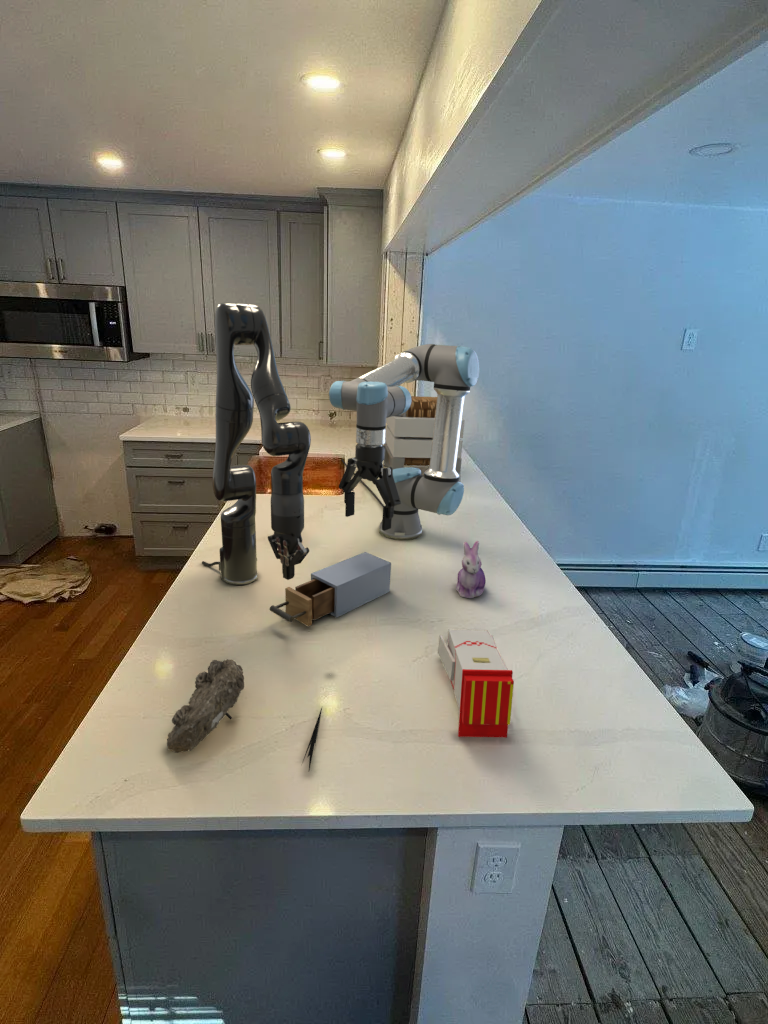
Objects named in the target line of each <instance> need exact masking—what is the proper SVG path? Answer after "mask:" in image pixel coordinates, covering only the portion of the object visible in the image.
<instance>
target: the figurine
mask: <svg viewBox="0 0 768 1024" xmlns="http://www.w3.org/2000/svg"><path fill="white" fill-rule="evenodd" d="M479 548H480V541H479V540H476V541H475V542H474V543H473V546H472V547H470V545H469V543H468V542H467V541H464V542H463V552H464V553H463V555H464V556H463V558H462V559H461V567H462V568H461V569H460V570H459V571H458V573H457V577H456V578H457V580H456V581H457V582H456V586H455V589H456V592H457V593H458V595H459V596H460V597H462V598H468V599H473V598H477V597H480V596H481V595H482V594H483V593H484V590H485V587H486V581H487V580H486V579H487V578H486V575H485V571H484V570H483V568H482V565H483V564H482V560H481V558H480V556H479V555H480V554H479Z"/></svg>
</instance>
